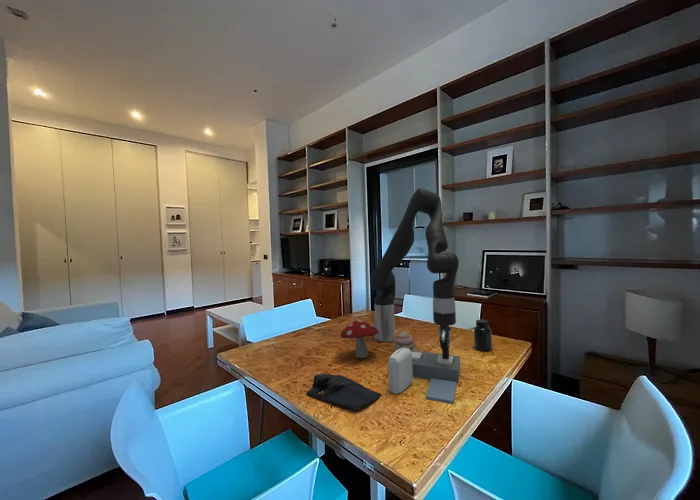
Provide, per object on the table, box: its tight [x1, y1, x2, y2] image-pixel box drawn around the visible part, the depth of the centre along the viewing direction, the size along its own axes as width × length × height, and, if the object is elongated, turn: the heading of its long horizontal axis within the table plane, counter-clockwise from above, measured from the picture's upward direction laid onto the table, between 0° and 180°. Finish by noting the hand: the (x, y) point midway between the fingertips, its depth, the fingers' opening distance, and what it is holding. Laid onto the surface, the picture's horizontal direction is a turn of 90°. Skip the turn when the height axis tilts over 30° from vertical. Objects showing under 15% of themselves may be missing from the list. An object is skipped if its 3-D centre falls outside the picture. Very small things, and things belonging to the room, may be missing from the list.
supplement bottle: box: [473, 319, 493, 352], centre depth 124 cm, size 7×7×12 cm
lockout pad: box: [425, 378, 457, 404], centre depth 92 cm, size 8×12×1 cm, turn 156°
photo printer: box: [387, 348, 414, 395], centre depth 95 cm, size 10×4×12 cm, turn 140°
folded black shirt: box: [306, 372, 382, 411], centre depth 93 cm, size 15×22×5 cm
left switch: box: [411, 351, 422, 361], centre depth 108 cm, size 5×5×2 cm
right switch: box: [437, 355, 453, 365], centre depth 103 cm, size 5×5×2 cm
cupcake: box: [392, 330, 417, 351], centre depth 121 cm, size 9×9×10 cm
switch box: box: [410, 349, 461, 385], centre depth 105 cm, size 20×12×5 cm, turn 66°
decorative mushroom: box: [339, 319, 379, 359], centre depth 122 cm, size 16×16×15 cm
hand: (445, 358), depth 103 cm, fingers closed
